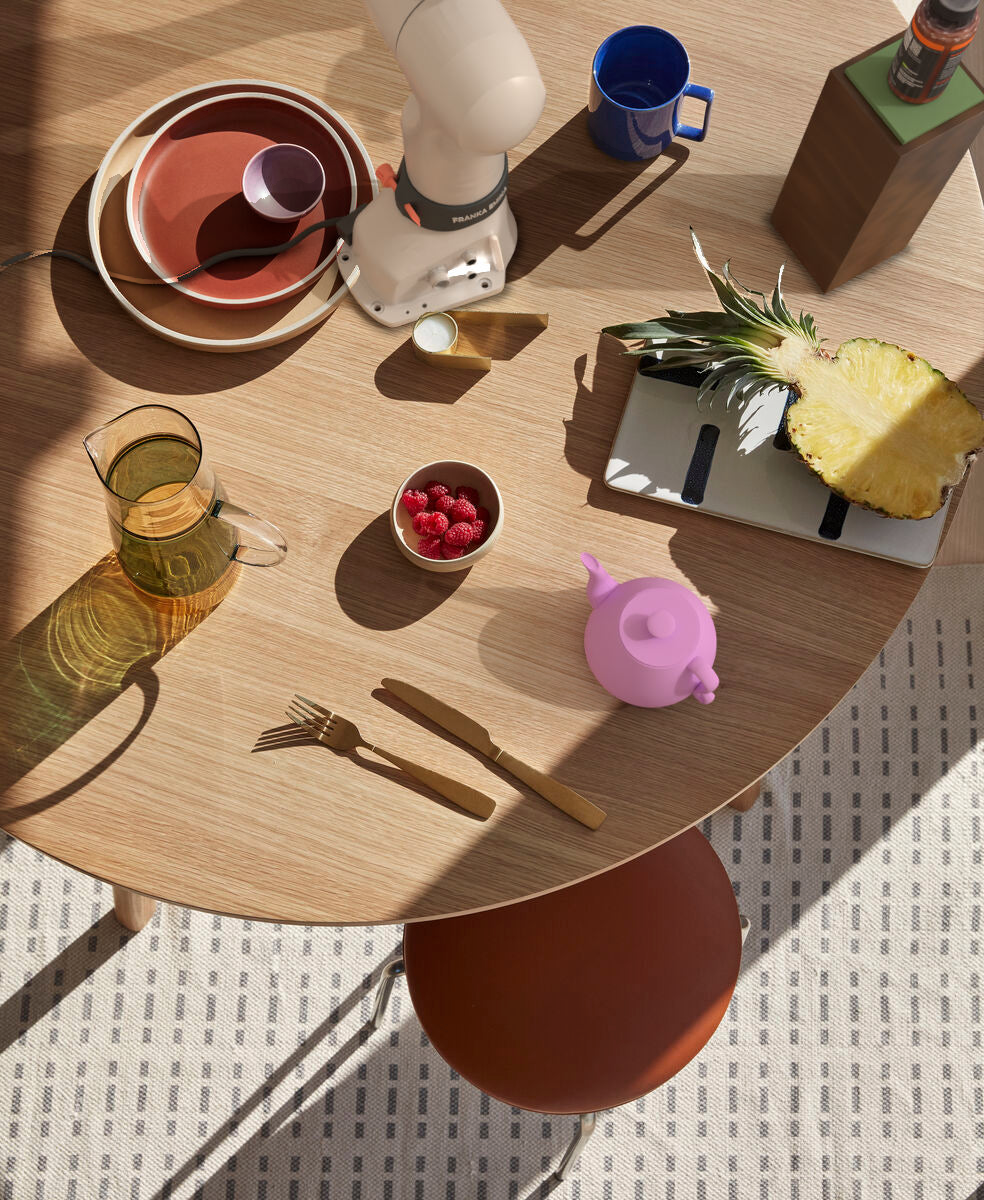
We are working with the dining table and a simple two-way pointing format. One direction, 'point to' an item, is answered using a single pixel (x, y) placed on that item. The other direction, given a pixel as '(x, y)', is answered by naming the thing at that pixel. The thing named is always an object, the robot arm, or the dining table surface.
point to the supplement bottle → (932, 48)
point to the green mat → (904, 115)
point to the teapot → (648, 639)
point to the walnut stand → (863, 180)
